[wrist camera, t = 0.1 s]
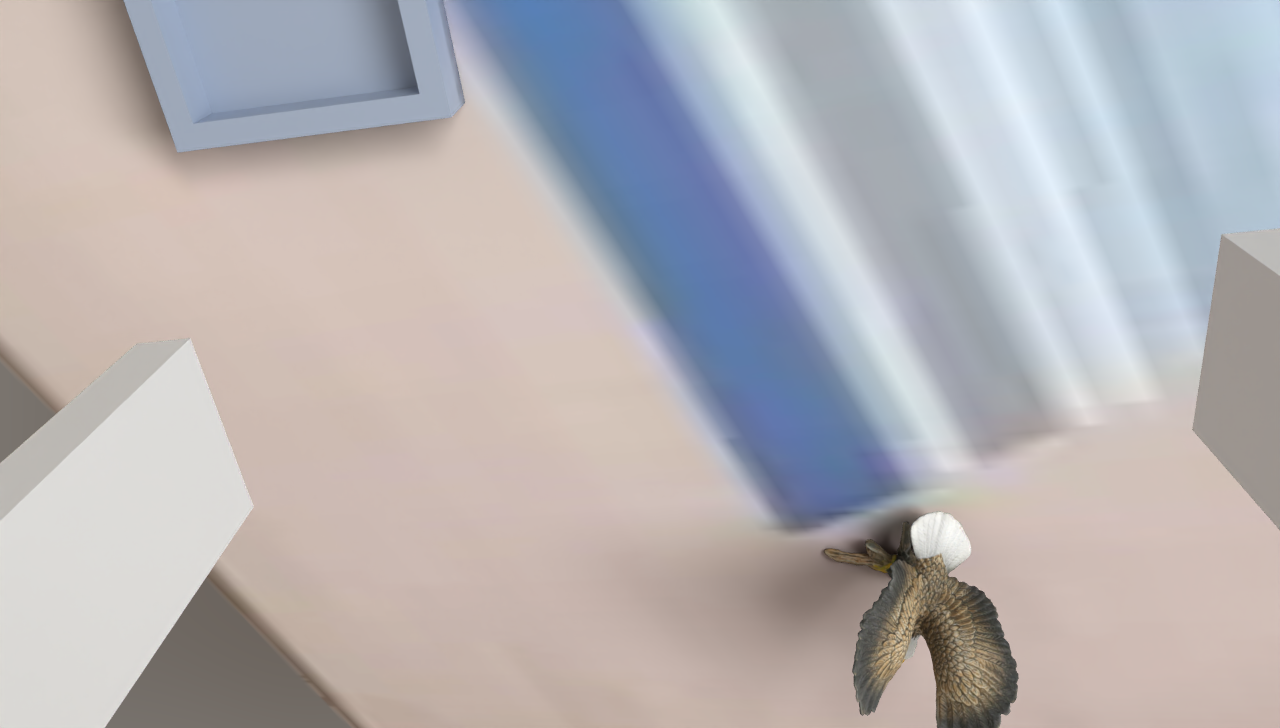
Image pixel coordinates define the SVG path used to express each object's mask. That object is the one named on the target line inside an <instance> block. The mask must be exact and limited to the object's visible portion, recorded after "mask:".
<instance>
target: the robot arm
mask: <svg viewBox="0 0 1280 728" xmlns="http://www.w3.org/2000/svg"><path fill="white" fill-rule="evenodd" d="M1192 430H1193V431H1194V432H1195V433H1196V435H1197V436H1198V437H1199V438H1200V439H1201V440H1202V441H1203V443H1204V444H1205V445H1206V446H1207V447H1208V448H1209V449H1210V451H1211V452H1212V453H1213V454H1214V455H1215V456H1216V457H1217V459H1218V460H1219V461H1220V462H1221V463H1222V464H1223V466H1224V467H1225V468H1226V469H1227V470H1228V471H1229V472H1230V474H1231V475H1232V476H1233V477H1234V478H1235V479H1236V480H1237V482H1238V483H1239V484H1240V485H1241V486H1242V487H1243V488H1244V490H1245V491H1246V492H1247V493H1248V494H1249V495H1250V496H1251V498H1252V499H1253V500H1254V501H1255V502H1256V503H1257V505H1258V506H1259V507H1260V508H1261V509H1262V510H1263V511H1264V513H1265V514H1266V515H1267V516H1268V517H1269V518H1270V519H1271V521H1272V522H1273V523H1274V524H1275V525H1276V526H1277V527H1278V529H1279V530H1280V228H1279V229H1269V230H1259V231H1249V232H1239V233H1230V234H1222V235H1221V241H1220V248H1219V255H1218V262H1217V268H1216V275H1215V282H1214V288H1213V295H1212V302H1211V309H1210V315H1209V322H1208V329H1207V335H1206V342H1205V349H1204V356H1203V362H1202V369H1201V376H1200V382H1199V389H1198V396H1197V403H1196V409H1195V416H1194V423H1193V429H1192ZM253 507H254V506H253V504H252V501H251V498H250V496H249V493H248V490H247V488H246V485H245V482H244V480H243V477H242V474H241V472H240V469H239V466H238V464H237V461H236V458H235V456H234V453H233V451H232V448H231V445H230V443H229V440H228V437H227V435H226V432H225V429H224V427H223V424H222V421H221V419H220V416H219V413H218V411H217V408H216V405H215V403H214V400H213V397H212V395H211V392H210V389H209V387H208V384H207V381H206V379H205V376H204V373H203V371H202V368H201V365H200V363H199V360H198V358H197V355H196V352H195V350H194V347H193V344H192V342H191V339H190V338H188V339H178V340H169V341H159V342H149V343H139V344H136V345H135V346H133V347H132V348H131V349H130V350H129V351H128V352H127V353H125V354H124V355H123V356H122V357H121V358H120V359H119V360H117V361H116V362H115V363H114V364H113V365H112V366H111V367H109V368H108V369H107V370H106V371H105V372H104V373H103V374H101V375H100V376H99V377H98V378H97V379H96V380H95V381H93V382H92V383H91V384H90V385H89V386H88V387H87V388H86V389H84V390H83V391H82V392H81V393H80V394H79V395H78V396H76V397H75V398H74V399H73V400H72V401H71V402H70V403H68V404H67V405H66V406H65V407H64V408H63V409H62V410H60V411H59V412H58V413H57V414H56V415H55V416H54V417H53V418H51V419H50V420H49V421H48V422H47V423H46V424H45V425H43V426H42V427H41V428H40V429H39V430H38V431H37V432H35V433H34V434H33V435H32V436H31V437H30V438H29V439H28V440H26V441H25V442H24V443H23V444H22V445H21V446H19V448H17V449H16V450H15V451H14V452H13V453H11V454H10V455H9V456H8V457H7V458H6V459H5V460H3V461H2V462H1V463H0V728H105V726H106V725H107V723H108V722H109V721H110V719H111V718H112V716H113V714H114V713H115V712H116V710H117V708H118V707H119V706H120V704H121V703H122V701H123V700H124V698H125V697H126V695H127V694H128V692H129V691H130V689H131V687H132V686H133V685H134V683H135V682H136V680H137V679H138V677H139V676H140V675H141V673H142V671H143V670H144V669H145V667H146V665H147V664H148V663H149V661H150V660H151V658H152V657H153V655H154V654H155V652H156V651H157V649H158V648H159V646H160V645H161V643H162V642H163V640H164V639H165V637H166V636H167V634H168V633H169V631H170V630H171V629H172V627H173V626H174V624H175V622H176V621H177V620H178V618H179V617H180V615H181V614H182V612H183V611H184V609H185V608H186V606H187V605H188V603H189V602H190V600H191V599H192V597H193V596H194V594H195V593H196V591H197V590H198V588H199V587H200V586H201V584H202V582H203V581H204V580H205V578H206V577H207V575H208V574H209V572H210V571H211V569H212V568H213V566H214V565H215V563H216V562H217V560H218V559H219V557H220V556H221V554H222V553H223V551H224V550H225V548H226V547H227V545H228V544H229V542H230V541H231V540H232V538H233V537H234V535H235V534H236V532H237V531H238V529H239V528H240V526H241V525H242V523H243V522H244V520H245V519H246V517H247V516H248V514H249V513H250V511H251V510H252V508H253Z"/></svg>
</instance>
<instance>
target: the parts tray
mask: <svg viewBox="0 0 1280 728" xmlns="http://www.w3.org/2000/svg"><path fill="white" fill-rule="evenodd" d="M124 3H125V6H126V9H127V12H128V14H129V17H130V20H131V23H132V26H133V28H134V31H135V34H136V37H137V40H138V43H139V45H140V48H141V51H142V54H143V57H144V59H145V62H146V65H147V68H148V71H149V73H150V76H151V79H152V82H153V85H154V88H155V90H156V93H157V96H158V99H159V102H160V104H161V107H162V110H163V113H164V116H165V118H166V121H167V124H168V127H169V130H170V133H171V135H172V138H173V141H174V144H175V147H176V149H177V152H185V151H193V150H201V149H208V148H216V147H224V146H232V145H240V144H247V143H255V142H263V141H271V140H279V139H286V138H294V137H302V136H310V135H318V134H325V133H333V132H341V131H349V130H357V129H364V128H372V127H380V126H388V125H396V124H403V123H411V122H419V121H427V120H435V119H442V118H450V117H452V116H453V115H454V114H455V113H456V112H457V111H458V110H459V109H460V108H461V106H462V105H463V104H464V103H465V100H464V95H463V91H462V86H461V81H460V77H459V72H458V67H457V63H456V58H455V53H454V49H453V44H452V40H451V35H450V30H449V26H448V21H447V16H446V12H445V7H444V2H443V0H124Z"/></svg>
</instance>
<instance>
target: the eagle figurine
mask: <svg viewBox="0 0 1280 728" xmlns="http://www.w3.org/2000/svg"><path fill="white" fill-rule="evenodd" d="M910 536H911V540H910ZM911 542H912V545H913V550H914V554H913V553H912V551H911ZM865 546H866V550H867V552H868V553H846V552H842V551H840V550H837V549H825V551H824V553H825V554H826V555H827V556H829V557H830V558H832V559H834V560H836V561H838V562H846V563H850V564H855V565H867V566H869V567H871V568H872V569H874V570H879V571H882V572H884V573H888V574H889V576H890V577H891V581H890V582H889V583H888V586H887V587H886V588H884V589H883V590H882V591H881V592H882V593H881V595H880V597H879V600H878V601H876V602H874V603H873V607H872V609H870V610H868V611H866V612H865V613H864V614H863V620H862V621H861V622H860V627H861V629H862V630H861V631H860V632H859V633H858V637H859V640H858V641H857V643H856V652H855V657H854V659H855V660H854V665H853V671H852V672H853V674H854V687H855V689H856V700H857V702H859V707H860V714H861V715H862V716H863V715H864V714H866V715H867V716H868V715H869V714H870V713H871V711H872V712H875V710H876V707H877V705H878V702H879V699H880V698H881V695H882V693H883V691H884V690H885V688H886V686H887V684H888V682H889V681H890V680H891V679H892V678H893V676H894V674H895V673H896V671H897V670H898V669H899V668H900V667H901V664H902V663H903V662H904V660H906V659H908V658H911V657H912V656H913V654H914V652H915V648H916V645H917V640H918V638H919V636H920V635H922V636H923V637H924V639H925V640H926V643H927V645H928V648H929V650H930V653H931V658H932V663H933V670H934V675H935V680H936V687H937V688H936V720H937V728H999V726H1000V723H1001V714H1004V715H1008V714H1009V713H1010V703H1014V702H1015V700H1016V698H1017V690H1018V686H1017V684H1016V683H1017V681H1018V678H1019V677H1018V673H1017V671H1016V667H1017V664H1016V661H1015V659H1013V657H1012V656H1011V650H1010V646H1009V643H1008V642H1007V641H1006V640H1005V639H1004V638H1003V637H1004V632H1003V631H1002V628H1001V624H1000V622H999V621H998V620H997V618H998V614H997V612H996V607H995V606H993V604H992V602H991V600H990V599H988V598H987V597H986V595H985V593H984V592H983V591H980V590H979V589H978V588H977V587H975V586H969V585H968V584H966V583H965V582H959V581H958V580H957V578H955V577H949V576H948V574H949V573H950V571H952V570H954V569H955V568H956V567H957V566H958V565H960V564H961V563H962V562H964V561H965V560H966V559H967V558H968V557H969V556H970V554H971V546H970V542H969V539H968V538H967V536H966V534H965V532H964V530H963V527H962V525H961V524H960V522H958V521H957V520H955V519H954V518H953V516H952V515H951V514H949V513H943V512H941V511H937V512H932V513H927V514H925V515H923V516H921V517H919V518H918V519H917V520H916V521H915V522H913V524H912V525H911V528H910V525H909V523H908V522H903V525H902V536H901V541H900V546H899V548H898V555H896V554H892V555H890V554H888V553H887V552H886V551H885V550H884V549H883V548H882V547H880V546H879V545H878V544H877V543H876V542H874V541H873V540H871V539H868V540H866V542H865Z"/></svg>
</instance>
